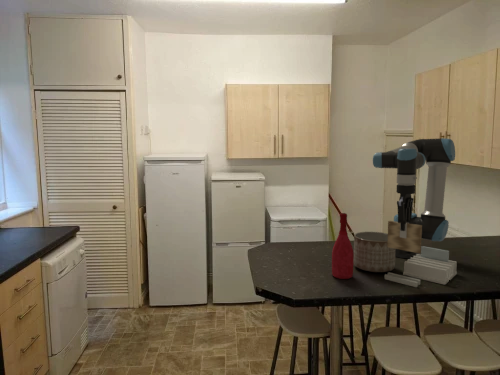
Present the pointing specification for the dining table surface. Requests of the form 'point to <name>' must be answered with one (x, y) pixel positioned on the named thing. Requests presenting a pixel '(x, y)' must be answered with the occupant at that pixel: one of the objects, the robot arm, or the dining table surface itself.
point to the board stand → (402, 279)
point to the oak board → (407, 244)
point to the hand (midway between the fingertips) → (404, 237)
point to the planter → (373, 252)
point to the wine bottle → (342, 253)
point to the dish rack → (431, 266)
